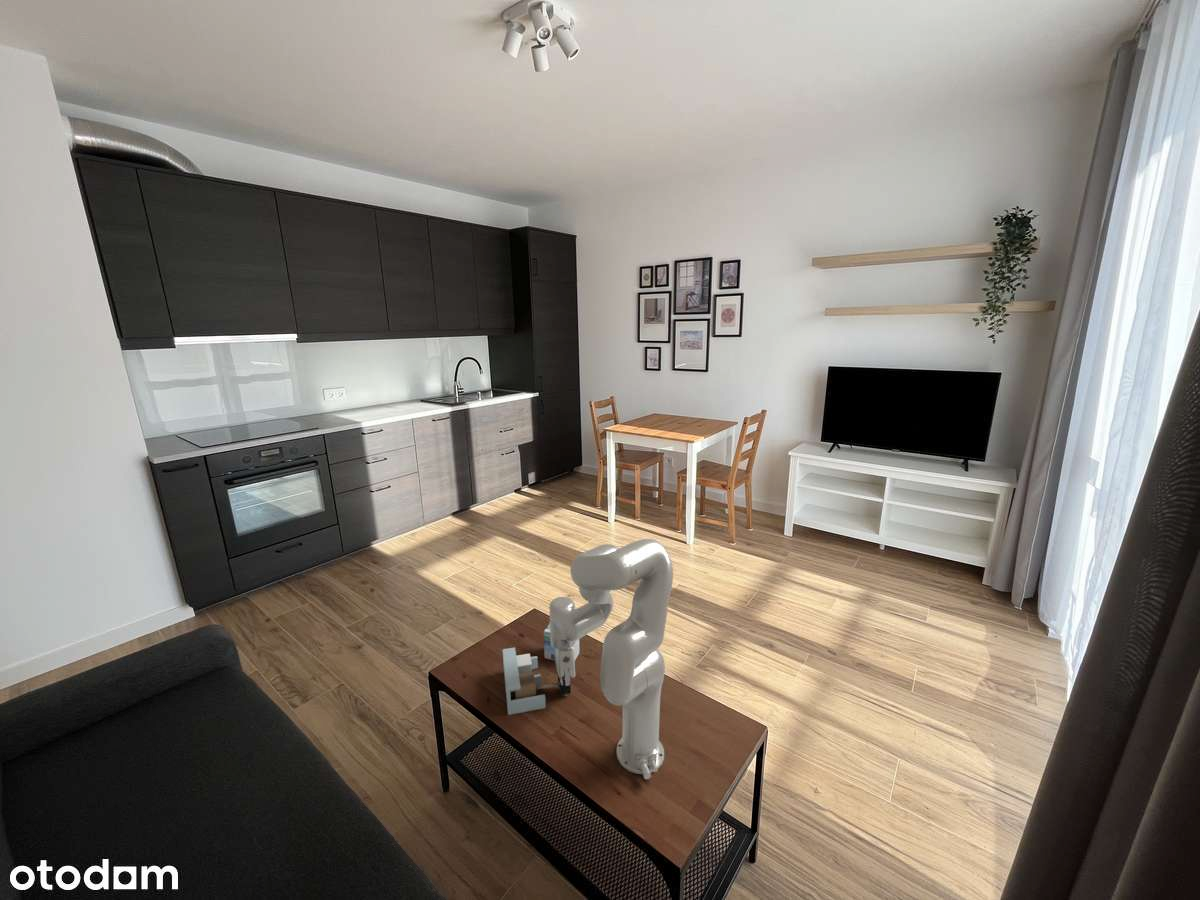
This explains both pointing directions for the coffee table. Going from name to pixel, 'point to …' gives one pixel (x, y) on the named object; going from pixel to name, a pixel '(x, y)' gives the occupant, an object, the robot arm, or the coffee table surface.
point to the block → (524, 664)
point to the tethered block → (531, 686)
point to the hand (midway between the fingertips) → (564, 689)
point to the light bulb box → (550, 650)
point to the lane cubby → (514, 684)
